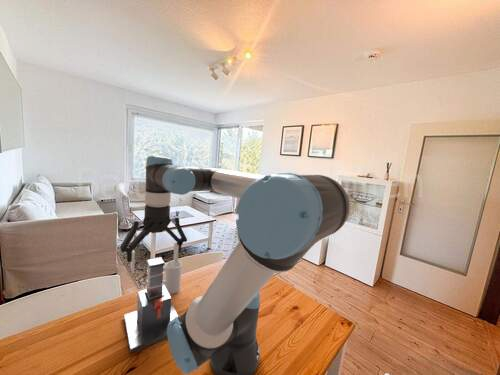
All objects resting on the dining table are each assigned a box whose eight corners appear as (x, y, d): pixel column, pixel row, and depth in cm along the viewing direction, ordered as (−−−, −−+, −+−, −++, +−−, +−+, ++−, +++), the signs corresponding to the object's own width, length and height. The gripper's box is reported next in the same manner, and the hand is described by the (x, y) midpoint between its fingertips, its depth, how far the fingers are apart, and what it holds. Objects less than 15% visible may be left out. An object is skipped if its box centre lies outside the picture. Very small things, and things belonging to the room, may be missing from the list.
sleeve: (183, 331, 72) (185, 297, 70) (130, 353, 62) (131, 315, 60) (169, 303, 84) (171, 274, 83) (124, 318, 75) (124, 286, 73)
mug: (181, 285, 97) (183, 260, 95) (179, 294, 90) (180, 268, 89) (158, 285, 95) (159, 260, 93) (154, 294, 88) (155, 268, 87)
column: (161, 322, 73) (164, 262, 70) (147, 327, 70) (149, 266, 67) (158, 313, 76) (161, 257, 73) (144, 318, 73) (146, 259, 70)
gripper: (190, 200, 78) (187, 253, 81) (110, 203, 63) (110, 268, 66) (198, 204, 72) (194, 262, 75) (112, 209, 57) (111, 281, 60)
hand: (155, 265), depth 70 cm, fingers open, 13 cm apart
